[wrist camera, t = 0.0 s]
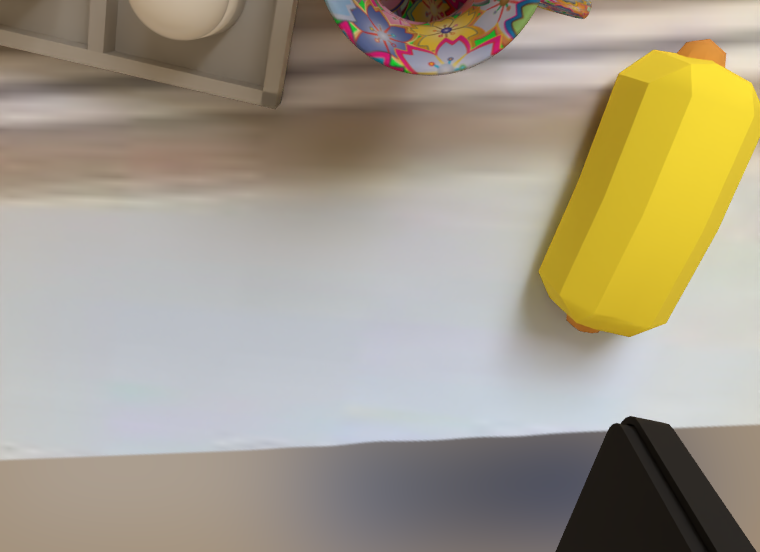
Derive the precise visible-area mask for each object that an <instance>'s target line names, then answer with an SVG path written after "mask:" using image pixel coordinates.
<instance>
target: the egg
mask: <svg viewBox="0 0 760 552" xmlns="http://www.w3.org/2000/svg"><path fill="white" fill-rule="evenodd" d="M128 1H129V3H130V5H131V7H132V9H133V11H134V13H135V14H136V16H137V17H138V18H139V19H140V21H141V22H142V23H144V24H145V25H146V26H147V27H148V28H149V29H151V30H152V31H154V32H155V33H157V34H159V35H161V36H163V37H166V38H169V39H173V40H185V41H186V40H194V39H199V38H203V37H208V36H212V35H216V34H220V33H222V32H224V31H226V30H228V29H229V28H230V27H232V26H233V25H234V24H235V23H236V22H237V20H238V19H239V18H240V16H241V14H242V12H243V10H244V7H245V4H246V0H128Z"/></svg>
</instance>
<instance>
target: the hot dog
mask: <svg viewBox="0 0 760 552" xmlns="http://www.w3.org/2000/svg"><path fill="white" fill-rule="evenodd" d="M725 61H726V53H725V52H724V51H723V50H722V49H721V48H719V47H718V46H717V45H716V44H715V43H714V42H713V41H712V40H711V39H706V40H699V41H692V42H686V43H685V45H684V46H683V47H682V48H681V49H680V50H679V51H678V52H677V53H671V52H665V51H659V50H652V51H651V52H649V53H648V54H647V55H645V56H644V57H642V58H641V59H639V60H638V61H636V62H635V63H633V64H632V65H631V66H629V67H628V68H626V69H625V70H623V71H622V72H620V73H619V74H618V77H617V79H616V82H615V85H614V87H613V90H612V93H611V95H610V98H609V101H608V103H607V106H606V108H605V111H604V114H603V116H602V119H601V122H600V124H599V127H598V130H597V132H596V135H595V138H594V140H593V143H592V146H591V148H590V151H589V154H588V156H587V159H586V162H585V164H584V167H583V169H582V172H581V175H580V177H579V180H578V182H577V185H576V187H575V189H574V192H573V194H572V196H571V198H570V201H569V203H568V205H567V207H566V210H565V212H564V214H563V217H562V219H561V221H560V223H559V226H558V228H557V230H556V233H555V235H554V237H553V239H552V242H551V244H550V246H549V248H548V251H547V253H546V255H545V258H544V260H543V262H542V264H541V267H540V269H539V271H538V272H539V274H540V276H541V279H542V281H543V283H544V286H545V288H546V291H547V293H548V295H549V298H550V299H551V300H553V301H554V302H555V303H556V304H557V305H558V306H559V307H560V308H561V309H562V310H563V311H564V312H565V313H566V314H567V321H568V322H569V323H570V324H571V325H572V326H573V327H575V328H576V329H577V330H579V331H583V332H588V333H597V332H599V331H605V332H609V333H614V334H618V335H623V336H627V337H631V336H634V335H636V334H639V333H642V332H644V331H647V330H650V329H652V328H655V327H657V326H660V325H663V324H665V323H666V322H667V321H668V319H669V317H670V315H671V313H672V312H673V310H674V308H675V306H676V304H677V303H678V301H679V299H680V297H681V295H682V294H683V292H684V290H685V288H686V287H687V285H688V283H689V281H690V279H691V278H692V276H693V274H694V272H695V270H696V269H697V267H698V265H699V263H700V261H701V260H702V258H703V256H704V254H705V252H706V251H707V249H708V247H709V245H710V243H711V242H712V240H713V238H714V236H715V234H716V233H717V231H718V229H719V227H720V224H721V222H722V220H723V218H724V215H725V213H726V211H727V209H728V207H729V204H730V202H731V200H732V198H733V196H734V193H735V191H736V189H737V187H738V184H739V182H740V180H741V178H742V176H743V173H744V171H745V169H746V167H747V165H748V162H749V160H750V158H751V156H752V153H753V151H754V149H755V147H756V145H757V142H758V140H759V138H760V101H759V99H758V97H757V94H756V92H755V90H754V87H753V85H752V83H750V82H749V81H747V80H745V79H743V78H741V77H740V76H738V75H736V74H734V73H733V72H731V71H729V70H727V69H726V68H725Z"/></svg>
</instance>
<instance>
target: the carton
mask: <svg viewBox="0 0 760 552" xmlns="http://www.w3.org/2000/svg"><path fill="white" fill-rule="evenodd" d="M297 5H298V0H246V4H245V7H244V10H243V12H242V14H241V16H240V18H239V19H238V20H237V22H236V23H235V24H234V25H233V26H232V27H230V28H229V29H228V30H226V31H224V32H222V33H220V34H216V35H212V36H208V37H203V38H199V39H194V40H186V41H185V40H173V39H169V38H166V37H163V36H161V35H159V34H157V33H155V32H154V31H152V30H151V29H149V28H148V27H147V26H146V25H145V24H144V23H142V22H141V21H140V19H139V18H138V17H137V16H136V14H135V13H134V11H133V9H132V7H131V5H130V3H129V1H128V0H0V45H1V46H6V47H10V48H14V49H19V50H23V51H27V52H31V53H36V54H40V55H44V56H49V57H53V58H57V59H62V60H66V61H70V62H75V63H79V64H83V65H87V66H92V67H96V68H100V69H105V70H109V71H113V72H118V73H122V74H126V75H131V76H135V77H139V78H143V79H148V80H152V81H156V82H161V83H165V84H169V85H174V86H178V87H182V88H186V89H191V90H195V91H199V92H204V93H208V94H212V95H217V96H221V97H225V98H230V99H234V100H238V101H242V102H247V103H251V104H255V105H260V106H264V107H268V108H273V109H276V108H277V107H278V106H279V104H280V103H281V98H282V93H283V87H284V81H285V75H286V69H287V63H288V57H289V52H290V46H291V40H292V34H293V28H294V22H295V16H296V10H297Z"/></svg>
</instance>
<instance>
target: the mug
mask: <svg viewBox="0 0 760 552" xmlns="http://www.w3.org/2000/svg"><path fill="white" fill-rule="evenodd" d="M324 1H325V3H326V5H327V7H328V9H329V11H330V13H331V15H332V17H333V18H334V20H335V22H336V23H337V25H338V26H339V27H340V29H341V30H342V32H343V33H344V34H345V35H346V36H347V37H348V39H349V40H350V41H351V42H352V43H353V44H354V45H355V46H356V47H357V48H359V49H360V50H361V51H362V52H364V53H365V54H366V55H368V56H369V57H371V58H372V59H374V60H375V61H377V62H379V63H381V64H383V65H385V66H387V67H390V68H392V69H395V70H398V71H402V72H405V73H410V74H416V75H428V76H430V75H444V74H451V73H455V72H459V71H463V70H466V69H469V68H471V67H474V66H476V65H478V64H480V63H482V62H484V61H486V60H488V59H489V58H491V57H493V56H494V55H495V54H497V53H498V52H500V51H501V50H502V49H503V48H505V47H506V46H507V45H508V44H509V43H510V42H511V41H512V40H513V39H514V38H515V37H516V36H517V35H518V34H519V33H520V32H521V30H522V29H523V28H524V27H525V25H526V24H527V23H528V21H529V20H530V18H531V17H532V15H533V13H534V12H535V10H536V8H537V7H539V8H542V9H546V10H549V11H553V12H556V13H560V14H563V15H567V16H571V17H575V18H580V19H584V18H586V17H587V16H588V14H589V12H590V10H591V7H592V3H591V2H590V1H589V0H324Z"/></svg>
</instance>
